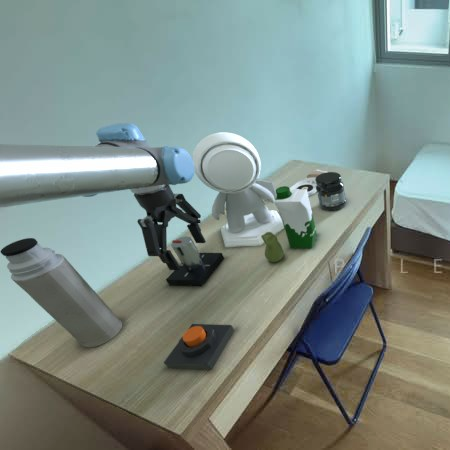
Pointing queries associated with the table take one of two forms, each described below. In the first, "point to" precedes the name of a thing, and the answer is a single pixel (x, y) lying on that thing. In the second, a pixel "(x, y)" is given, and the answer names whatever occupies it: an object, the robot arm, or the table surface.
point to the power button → (194, 336)
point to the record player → (308, 182)
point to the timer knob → (187, 253)
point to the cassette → (267, 186)
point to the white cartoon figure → (236, 188)
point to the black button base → (201, 349)
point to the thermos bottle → (61, 292)
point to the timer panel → (196, 271)
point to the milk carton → (296, 216)
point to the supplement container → (330, 191)
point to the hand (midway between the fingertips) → (188, 255)
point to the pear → (272, 247)
